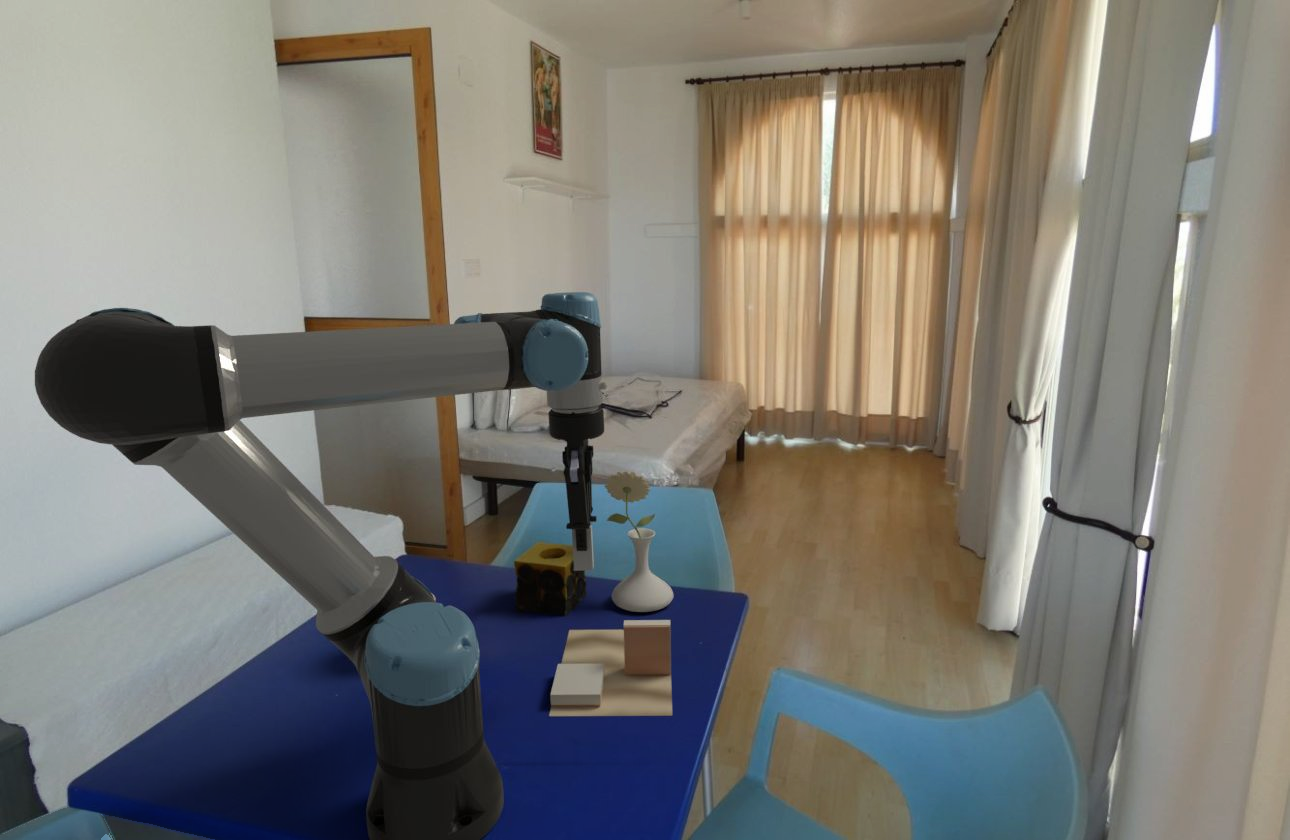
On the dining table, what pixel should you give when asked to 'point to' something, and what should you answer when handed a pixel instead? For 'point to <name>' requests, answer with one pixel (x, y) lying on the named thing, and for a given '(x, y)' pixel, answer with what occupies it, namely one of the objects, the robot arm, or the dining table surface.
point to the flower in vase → (637, 551)
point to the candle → (548, 580)
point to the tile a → (578, 685)
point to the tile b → (647, 647)
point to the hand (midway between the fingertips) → (583, 568)
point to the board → (615, 678)
